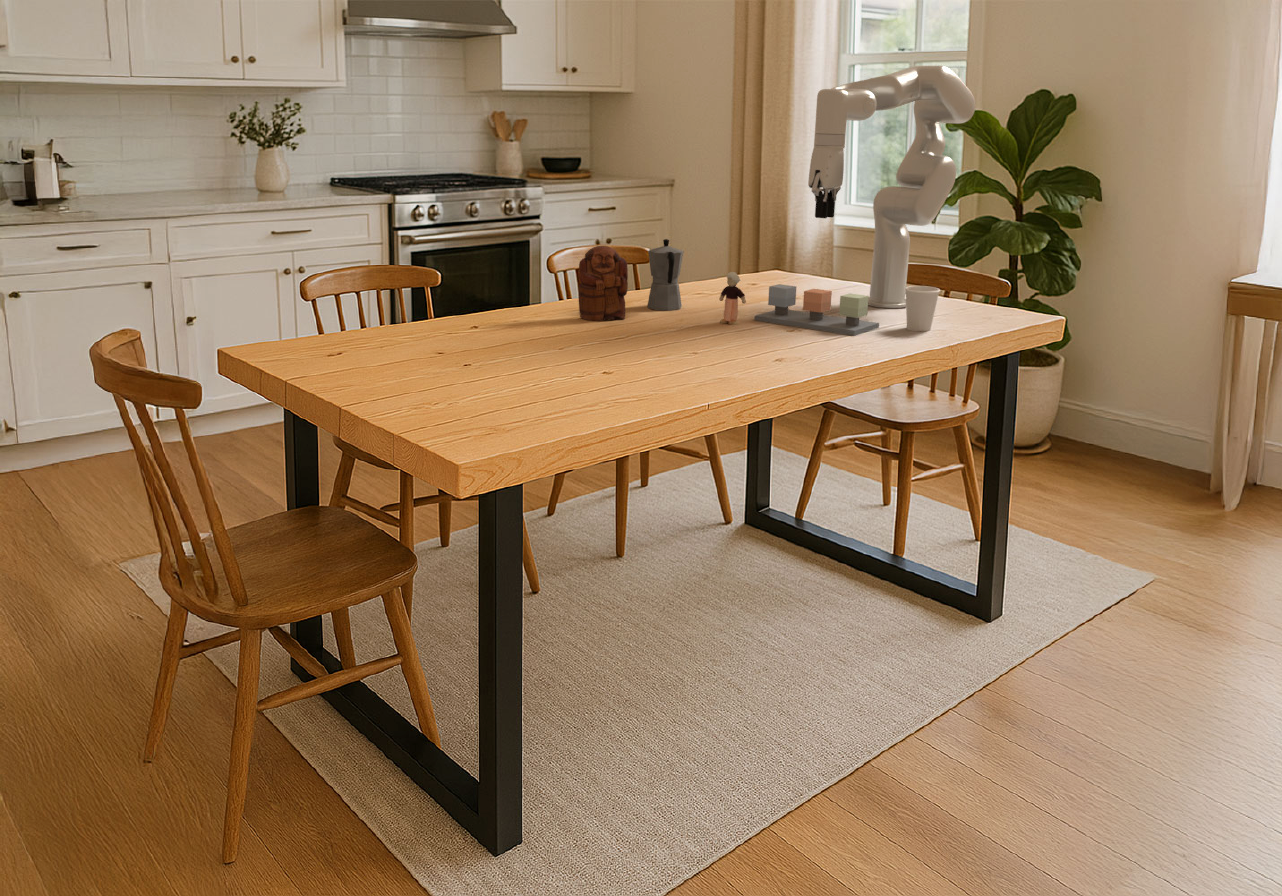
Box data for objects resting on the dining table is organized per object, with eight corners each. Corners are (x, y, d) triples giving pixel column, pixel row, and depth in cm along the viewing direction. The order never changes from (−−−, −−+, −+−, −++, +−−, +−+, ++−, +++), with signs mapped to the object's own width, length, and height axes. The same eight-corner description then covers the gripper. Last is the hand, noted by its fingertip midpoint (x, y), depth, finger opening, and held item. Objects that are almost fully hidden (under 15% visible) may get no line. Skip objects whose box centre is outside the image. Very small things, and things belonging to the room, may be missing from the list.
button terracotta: (812, 307, 273) (813, 288, 272) (830, 309, 270) (831, 291, 269) (802, 310, 269) (804, 291, 268) (820, 312, 266) (822, 293, 265)
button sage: (848, 312, 267) (850, 293, 266) (867, 315, 264) (868, 295, 263) (838, 315, 264) (840, 296, 262) (857, 318, 261) (859, 298, 259)
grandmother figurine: (713, 322, 270) (715, 271, 266) (719, 320, 273) (722, 269, 269) (742, 326, 266) (744, 274, 262) (748, 323, 269) (750, 272, 266)
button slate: (778, 302, 279) (779, 284, 277) (795, 304, 276) (796, 286, 275) (768, 305, 275) (769, 286, 274) (785, 307, 272) (786, 288, 271)
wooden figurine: (583, 322, 268) (583, 248, 262) (577, 317, 273) (577, 245, 268) (629, 320, 271) (630, 247, 266) (622, 315, 277) (623, 244, 271)
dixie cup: (937, 333, 263) (941, 292, 259) (901, 331, 264) (905, 290, 261) (935, 326, 270) (939, 286, 267) (900, 324, 272) (904, 284, 269)
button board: (780, 313, 284) (781, 300, 283) (878, 327, 268) (880, 314, 267) (754, 320, 274) (754, 306, 273) (854, 335, 258) (855, 321, 257)
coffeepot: (642, 303, 294) (644, 236, 288) (677, 303, 295) (679, 236, 290) (652, 314, 279) (654, 243, 274) (688, 313, 281) (690, 243, 275)
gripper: (831, 140, 276) (826, 214, 282) (799, 141, 264) (795, 218, 270) (858, 141, 272) (852, 216, 278) (827, 142, 260) (821, 221, 265)
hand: (824, 216), depth 274 cm, fingers open, 2 cm apart
